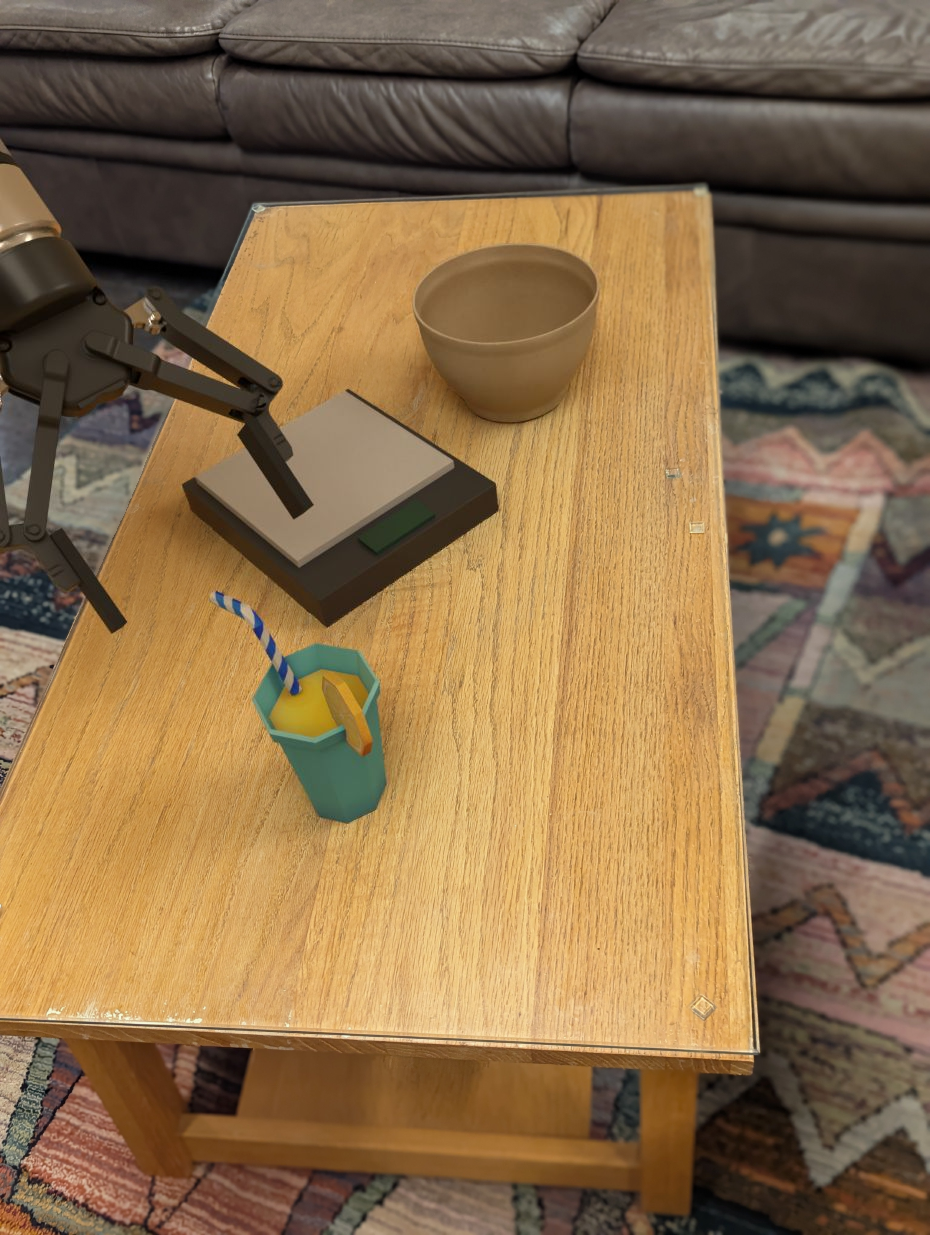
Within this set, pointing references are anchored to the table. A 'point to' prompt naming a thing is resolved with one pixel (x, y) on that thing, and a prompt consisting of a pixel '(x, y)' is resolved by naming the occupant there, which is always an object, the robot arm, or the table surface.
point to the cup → (322, 719)
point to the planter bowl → (508, 325)
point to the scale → (344, 505)
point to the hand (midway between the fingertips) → (215, 568)
